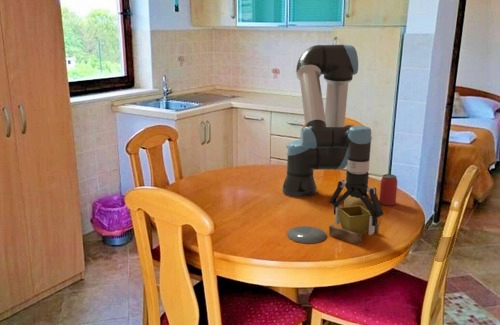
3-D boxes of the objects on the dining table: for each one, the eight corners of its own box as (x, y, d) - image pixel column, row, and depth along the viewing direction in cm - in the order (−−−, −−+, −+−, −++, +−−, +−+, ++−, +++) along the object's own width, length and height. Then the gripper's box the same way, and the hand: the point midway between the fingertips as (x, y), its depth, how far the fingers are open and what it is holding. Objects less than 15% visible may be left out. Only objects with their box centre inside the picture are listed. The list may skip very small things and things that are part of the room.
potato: (362, 206, 203) (363, 188, 201) (373, 219, 190) (374, 200, 187) (338, 207, 202) (339, 189, 200) (348, 220, 189) (349, 201, 187)
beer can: (396, 206, 203) (398, 178, 200) (379, 205, 204) (381, 177, 201) (394, 201, 209) (397, 174, 206) (378, 200, 211) (380, 173, 207)
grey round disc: (278, 235, 175) (278, 234, 175) (302, 224, 185) (302, 223, 185) (311, 247, 166) (311, 246, 166) (334, 234, 176) (334, 233, 176)
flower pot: (371, 237, 174) (372, 213, 171) (348, 240, 171) (349, 216, 169) (358, 228, 182) (360, 205, 180) (337, 230, 180) (338, 207, 177)
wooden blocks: (329, 235, 176) (329, 226, 175) (349, 224, 185) (349, 215, 184) (358, 245, 168) (359, 235, 167) (378, 233, 178) (378, 224, 177)
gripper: (321, 166, 176) (319, 222, 181) (385, 181, 160) (381, 241, 165) (332, 162, 181) (330, 216, 187) (396, 176, 165) (391, 234, 171)
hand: (354, 228), depth 176 cm, fingers open, 13 cm apart
